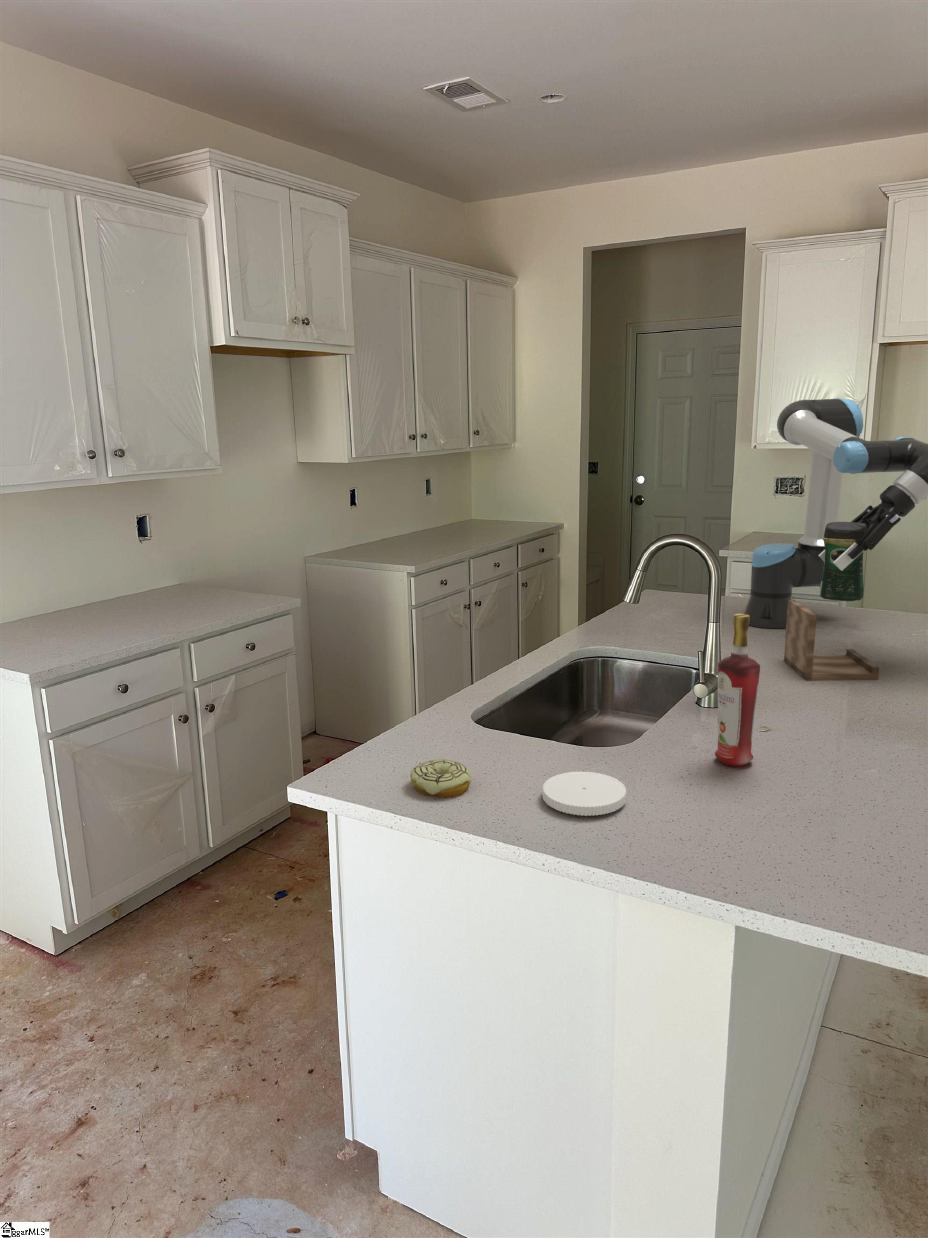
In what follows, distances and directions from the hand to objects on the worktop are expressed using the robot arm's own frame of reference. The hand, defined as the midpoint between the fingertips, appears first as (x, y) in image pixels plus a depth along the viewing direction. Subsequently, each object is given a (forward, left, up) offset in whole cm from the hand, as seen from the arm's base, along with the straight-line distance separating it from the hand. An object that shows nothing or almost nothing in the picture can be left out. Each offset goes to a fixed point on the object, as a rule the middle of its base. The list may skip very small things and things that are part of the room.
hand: (829, 562), depth 209 cm
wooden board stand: (0, +2, -27) cm, 27 cm away
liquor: (+40, -53, -27) cm, 72 cm away
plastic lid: (+45, -86, -27) cm, 101 cm away
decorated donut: (+32, -107, -27) cm, 115 cm away
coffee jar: (+1, +3, -9) cm, 10 cm away
